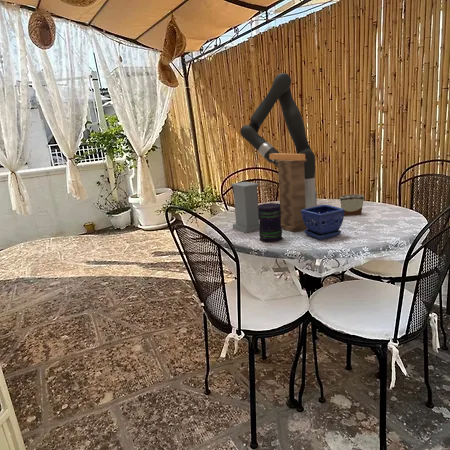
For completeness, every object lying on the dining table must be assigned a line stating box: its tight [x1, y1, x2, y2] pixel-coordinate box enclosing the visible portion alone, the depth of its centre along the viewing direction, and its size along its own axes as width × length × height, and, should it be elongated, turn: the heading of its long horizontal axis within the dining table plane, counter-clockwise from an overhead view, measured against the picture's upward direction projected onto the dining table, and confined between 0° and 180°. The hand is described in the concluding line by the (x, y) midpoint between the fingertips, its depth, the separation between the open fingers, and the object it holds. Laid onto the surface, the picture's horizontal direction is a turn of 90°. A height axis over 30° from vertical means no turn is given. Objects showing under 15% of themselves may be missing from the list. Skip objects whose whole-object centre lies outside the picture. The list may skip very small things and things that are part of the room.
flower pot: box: [301, 204, 345, 241], centre depth 153 cm, size 13×13×12 cm
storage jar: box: [258, 202, 283, 243], centre depth 154 cm, size 10×10×15 cm
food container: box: [338, 193, 365, 217], centre depth 183 cm, size 12×6×10 cm, turn 84°
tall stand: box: [276, 159, 308, 233], centre depth 166 cm, size 12×10×32 cm
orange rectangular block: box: [269, 152, 305, 161], centre depth 164 cm, size 22×3×2 cm, turn 29°
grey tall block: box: [230, 181, 260, 234], centre depth 173 cm, size 12×10×22 cm
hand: (289, 172), depth 190 cm, fingers open, 8 cm apart
